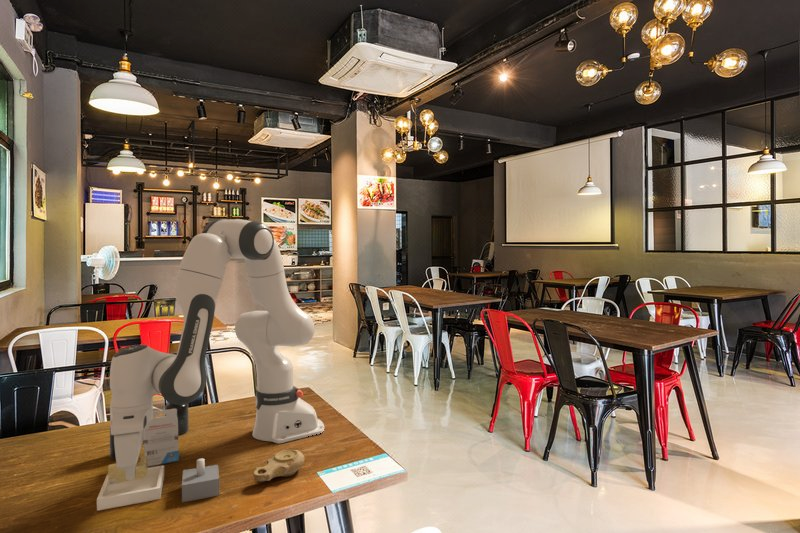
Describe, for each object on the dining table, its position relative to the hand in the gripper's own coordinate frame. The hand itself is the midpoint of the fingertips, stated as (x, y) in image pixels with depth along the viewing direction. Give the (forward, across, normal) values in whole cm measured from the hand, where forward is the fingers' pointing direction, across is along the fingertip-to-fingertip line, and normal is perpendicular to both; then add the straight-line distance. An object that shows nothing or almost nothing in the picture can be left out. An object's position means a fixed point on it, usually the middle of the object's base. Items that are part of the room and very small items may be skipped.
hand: (132, 471), depth 111 cm
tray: (+5, 0, 0) cm, 5 cm away
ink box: (+5, -16, +5) cm, 18 cm away
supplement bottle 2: (+5, -37, +8) cm, 38 cm away
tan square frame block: (+1, 0, 0) cm, 1 cm away
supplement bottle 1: (+5, -24, -5) cm, 25 cm away
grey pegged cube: (+5, +6, +15) cm, 17 cm away
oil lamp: (+5, +6, +34) cm, 35 cm away
